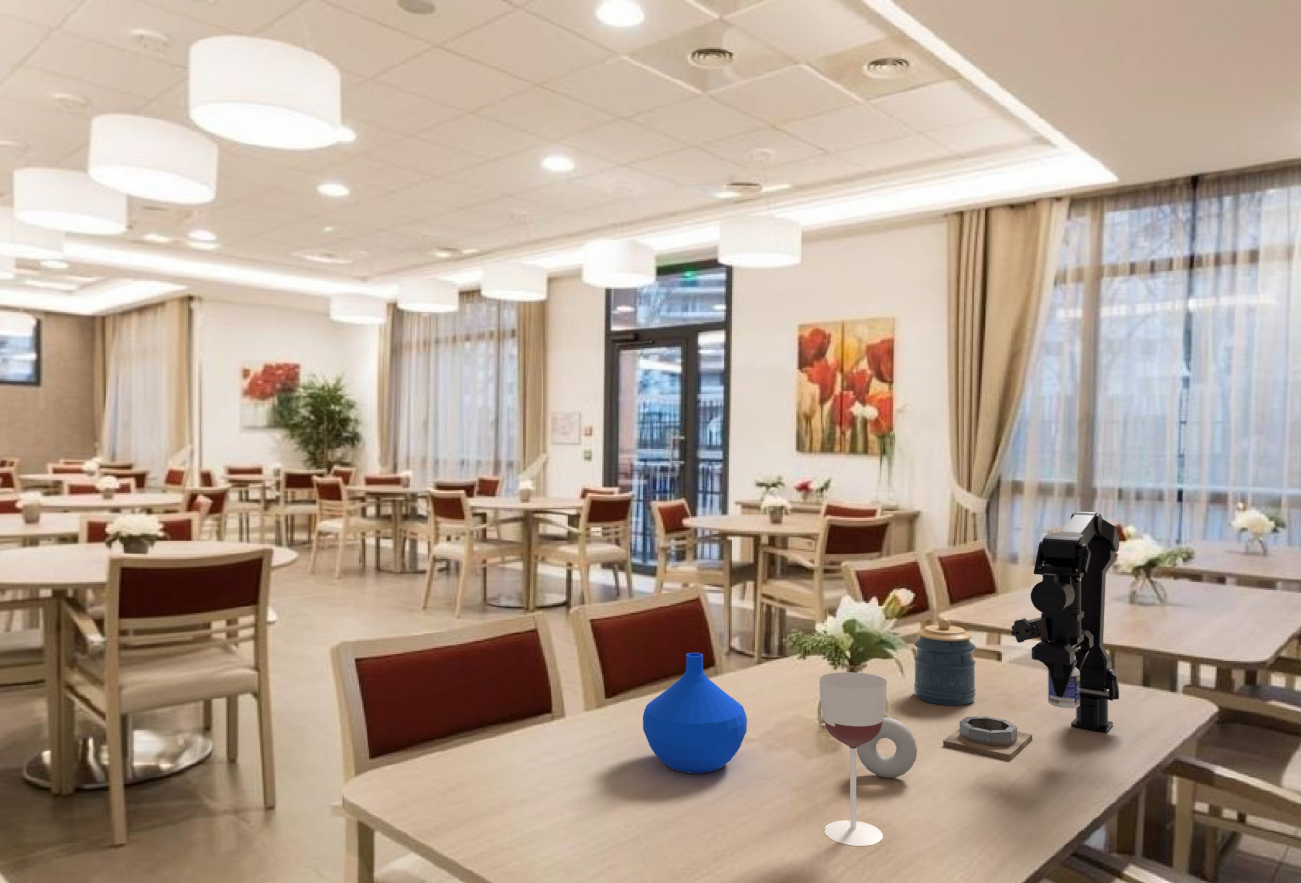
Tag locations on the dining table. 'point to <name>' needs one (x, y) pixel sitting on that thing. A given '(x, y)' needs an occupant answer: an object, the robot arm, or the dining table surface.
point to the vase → (694, 722)
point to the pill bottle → (1066, 692)
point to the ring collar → (988, 731)
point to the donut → (902, 756)
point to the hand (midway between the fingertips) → (1063, 692)
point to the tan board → (994, 751)
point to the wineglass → (853, 737)
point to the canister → (944, 665)
